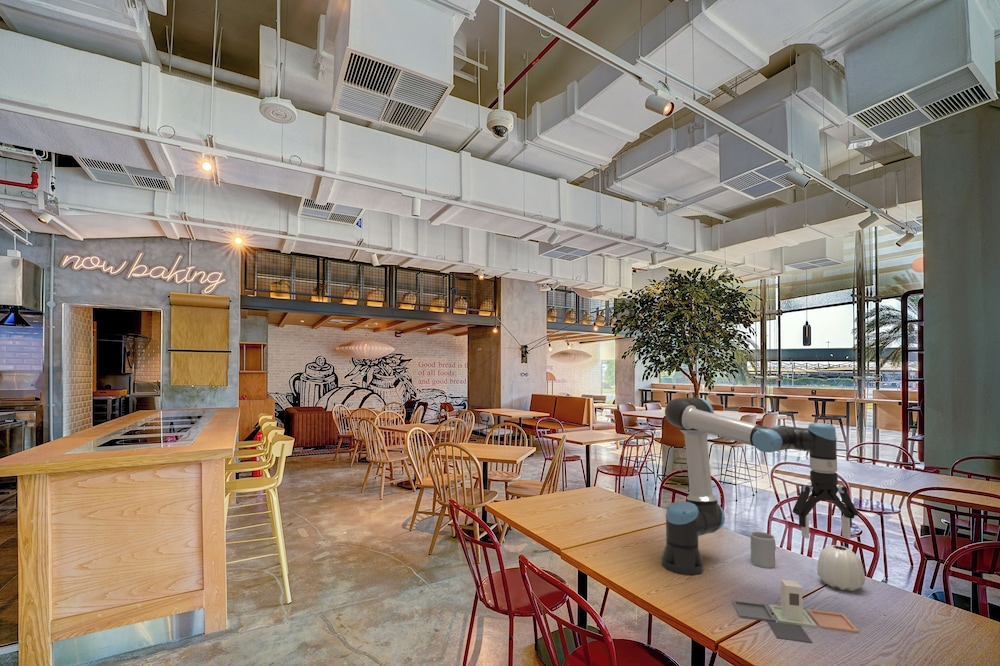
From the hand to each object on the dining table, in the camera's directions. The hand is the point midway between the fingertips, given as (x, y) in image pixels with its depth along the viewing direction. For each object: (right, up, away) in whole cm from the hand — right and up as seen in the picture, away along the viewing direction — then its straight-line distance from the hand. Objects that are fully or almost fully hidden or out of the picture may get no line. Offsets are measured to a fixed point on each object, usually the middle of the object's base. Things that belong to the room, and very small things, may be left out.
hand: (825, 537), depth 156 cm
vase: (+16, -24, +15) cm, 32 cm away
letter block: (-16, -21, -8) cm, 28 cm away
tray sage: (-16, -22, -8) cm, 28 cm away
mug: (-1, -25, +34) cm, 42 cm away
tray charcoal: (-27, -22, -5) cm, 35 cm away
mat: (-22, -21, -17) cm, 35 cm away
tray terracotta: (-5, -22, -10) cm, 25 cm away
